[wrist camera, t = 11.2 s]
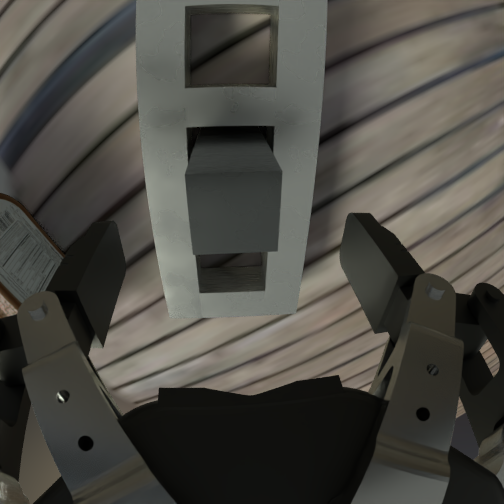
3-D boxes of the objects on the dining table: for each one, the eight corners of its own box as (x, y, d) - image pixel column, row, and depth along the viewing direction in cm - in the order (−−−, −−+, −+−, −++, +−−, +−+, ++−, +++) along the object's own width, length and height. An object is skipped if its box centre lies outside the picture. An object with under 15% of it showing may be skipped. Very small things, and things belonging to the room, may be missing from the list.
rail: (173, 292, 26) (170, 318, 23) (150, -16, 12) (138, -28, 10) (289, 288, 27) (295, 313, 24) (312, -16, 13) (327, -27, 10)
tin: (-11, 192, 18) (-69, 247, 11) (5, 170, 17) (-59, 223, 11) (93, 308, 26) (68, 380, 19) (113, 296, 26) (90, 372, 19)
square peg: (203, 178, 20) (193, 255, 13) (200, 126, 18) (184, 174, 11) (256, 176, 20) (277, 251, 13) (257, 125, 18) (282, 171, 11)
